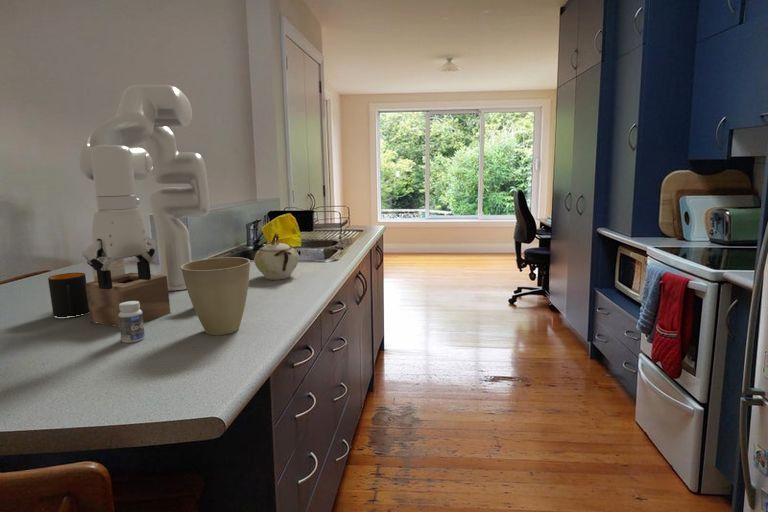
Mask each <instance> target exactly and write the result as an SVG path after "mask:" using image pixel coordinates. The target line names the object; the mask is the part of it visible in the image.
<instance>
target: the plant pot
mask: <svg viewBox="0 0 768 512" xmlns="http://www.w3.org/2000/svg"><path fill="white" fill-rule="evenodd" d="M250 266H251V260H250V259H248V258H245V257H237V256H234V257H233V256H224V257H223V256H221V257H211V258H204V259H198V260H192V262H189V263H186V264H184V265H182V266H181V270H182V274H183V278H184V281H185V285H186V288H187V289H186V291H187V293H188V295H189V296H188V297H189V299H190V302H191V304H192V307H193V309H194V311H195V314H196V315H197V316H196V317H197V318H198V320H199V322H200V324H201V326H202V328H203V329H204V332H205V333H206V334H207V335H210V336H224V335H225V336H226V335H229V334H233V333H235V332H238V330H239V329H240V326H241V322H242V319H243V316H244V313H245V308H246V307H245V306H246V304H247V303H246V302H247V296H248V289H249V283H250V269H251V267H250Z"/></svg>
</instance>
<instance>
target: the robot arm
mask: <svg viewBox="0 0 768 512" xmlns="http://www.w3.org/2000/svg"><path fill="white" fill-rule="evenodd" d="M120 98H121V99H120V102H119V104H118V108H117V111H116V112H115V113H116V115H115V116H114V117H112V118H110V119H108V120H106V121H105V122H103V123H101V124H99V125H98V126H96V127H95V128H93V129H92V130H90V131H89V132H88V134H87V135H86V136H85V138H84V141H83V143H82V146H81V149H80V151H79V152H80V153H79V158H78V162H79V164H78V165H79V169H80V171H81V174H82V175H83V176H84V177H85V178H86V179H87V180H89V181H93V184H94V193H95V201H96V202H95V203H96V209H97V212H94V213H93V217H92V225H91V226H92V228H91V229H92V230H91V232H92V233H91V234H92V238H91V239H92V244H91V245H89V246H88V247H87V248H85V249H83V250H82V252H81V254H82V257H83V258H84V259H85V261H86V262H87V265H89V266H90V267H91V268H92V267H93V269H94V270H97V278H98V284H99V288H100V289H108V290H109V289H112V279H111V271H110V270H107V269H108V267H109V265H110V263H111V262H112V260H117V259H123V258H124V259H128V258H133V257H135V258H136V259H137V260H138V261H137V262H136V269H137V273H138V278H139V279H140V280H150V279H151V274H152V273H151V267H150V266H151V265H150V262H152V260H153V259H152V258H153V256H154V254H155V252H156V247H157V252H158V260H159V270H160V271H159V272H157V273H156V275H163V276H167V284H168V292H171V291H184V290H187V288H186V285H185V281H184V278H183V274H182V270H181V266H182V265H184V264H186V263H189V262H192V261H193V260H192V252H191V251H192V250H191V240H190V231H189V229H188V227H187V226H186V225H185V224H184V223H183V221H181V220H180V219H183V218H184V219H185V218H200V217H205V216H208V215H209V213H210V211H211V200H210V197H211V196H210V191H209V182H208V175H207V169H206V163H205V161H204V160H205V159H204V158H203V156H202V155H201V154H200V153H198V152H193V151H191V152H190V151H188V152H187V151H185V152H183V151H182V152H180V151H178V148H177V142H176V136H175V134H174V132H173V131H172V130H171V128H175V127H177V128H181V127H187V126H189V125H191V122H192V119H193V109H192V105H191V103H190V101H189V99H188V97H187V96H186V95H185V93H184V92H183V91H181V90H180V88H177V87H176V86H173V85H170V84H132V85H130V86H128V87H127V88H126V89H124V91H123V93H122V95H121V97H120ZM141 143H144V146H145V149H144V148H143V147H140V146H136V145H139V144H141ZM150 176H151V177H150ZM149 177H150V178H151V179H152V181H153V182H154V183H156V184H160V185H185V184H188V185H190V186H174V187H172V186H169V187H168V186H167V187H161V188H156V189H155V190H153V191H152V192H151V193H150V195H149V199H148V201H149V206H150V210H151V213H152V217H153V221H154V225H155V233H156V239H153V238H151V237H149V236H147V234H146V229H145V223H144V220H143V216H142V213H141V210H140V209H138V205H140V203H141V201H140V198H138V197H137V193H136V182H135V181H142V180H144V179H147V178H149ZM95 258H97V259H95Z"/></svg>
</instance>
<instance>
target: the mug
mask: <svg viewBox="0 0 768 512" xmlns="http://www.w3.org/2000/svg"><path fill="white" fill-rule="evenodd" d="M86 278H87V277H86V273H85V272H70V273H69V272H68V273H67V272H66V273H61V274H60V273H59V274H55V275H52V276H49V277H47V281H48V287H49V295H50V301H51V306H52V307H51V308H52V315H54V316H57V317H67V316H76V315H81V314H85V313H88V312H89V306H88V298H87V291H86V284H85V283H87V279H86ZM88 314H89V313H88ZM54 316H53V317H54Z"/></svg>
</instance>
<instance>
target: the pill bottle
mask: <svg viewBox="0 0 768 512" xmlns="http://www.w3.org/2000/svg"><path fill="white" fill-rule="evenodd" d="M119 309H120V311H121V312H120V313H119V315H118V316H119V325H120V327H119V333H120V339H121V342H123V343H125V344H126V343H127V344H128V343H129V344H130V343H135V342H139V341H140V342H141V341H142V340H144V339H145V338H146V336H145V335H146V334H145V326H144V322H143V314H142V311H141V310H140V304H139V302H138V301H128V302H123V303H121V304H119Z"/></svg>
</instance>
